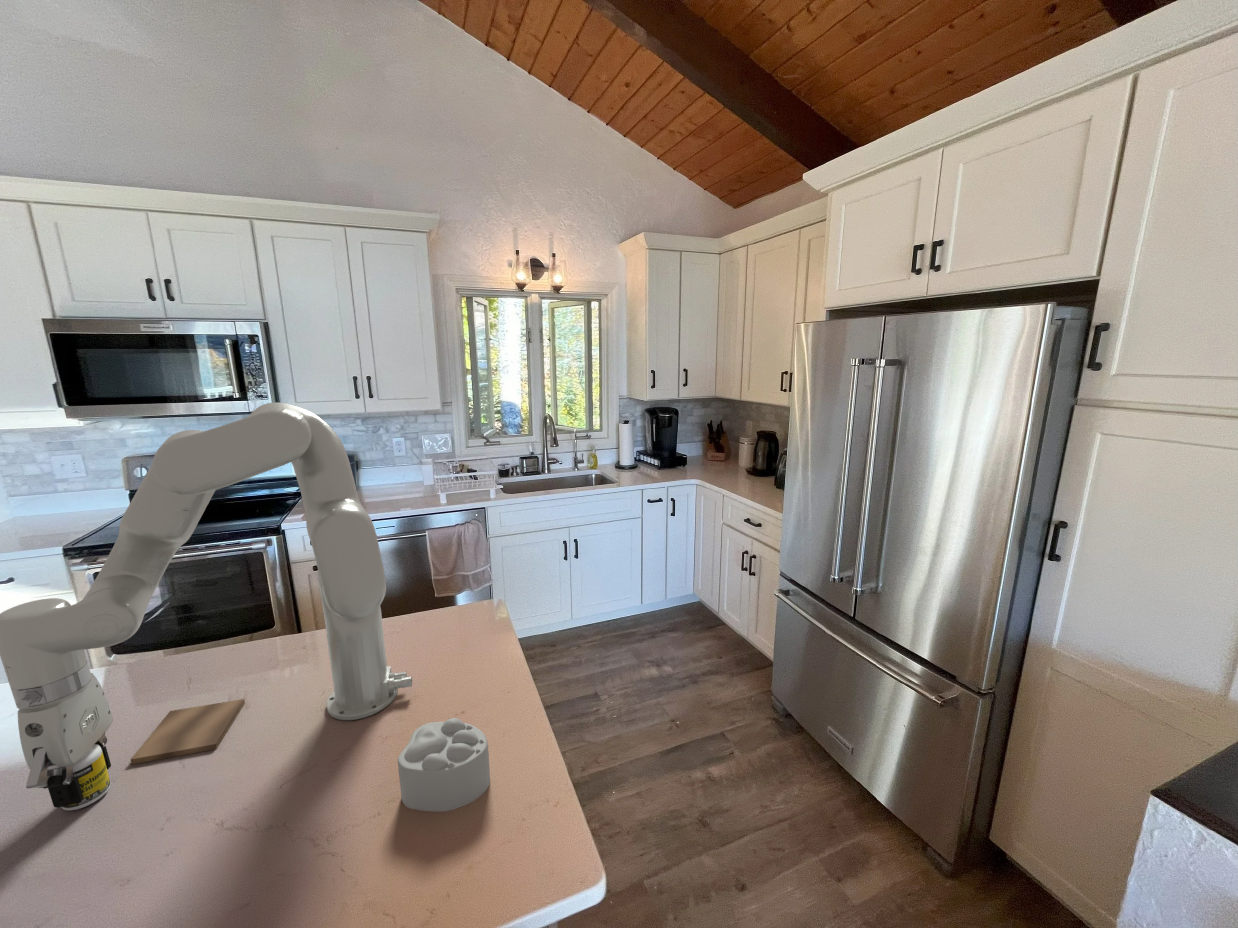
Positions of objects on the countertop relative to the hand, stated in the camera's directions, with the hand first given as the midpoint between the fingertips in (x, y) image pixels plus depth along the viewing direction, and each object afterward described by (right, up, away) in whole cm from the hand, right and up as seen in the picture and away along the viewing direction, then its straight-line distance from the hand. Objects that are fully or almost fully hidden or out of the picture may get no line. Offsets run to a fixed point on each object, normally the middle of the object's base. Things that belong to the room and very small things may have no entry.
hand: (84, 785), depth 77 cm
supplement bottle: (0, -2, +1) cm, 2 cm away
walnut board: (+5, +1, +14) cm, 15 cm away
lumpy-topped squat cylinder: (+55, -2, +4) cm, 55 cm away
